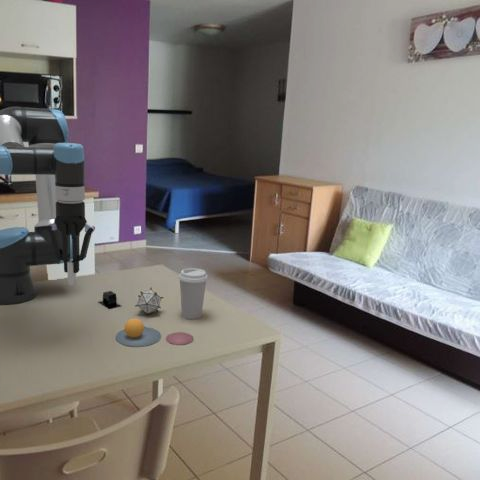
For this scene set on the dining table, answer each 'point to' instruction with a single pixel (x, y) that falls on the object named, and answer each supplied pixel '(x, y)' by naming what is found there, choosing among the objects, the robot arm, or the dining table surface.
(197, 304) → the coffee cup
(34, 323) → the dining table surface
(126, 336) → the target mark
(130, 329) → the ball
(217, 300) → the dining table surface
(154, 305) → the game die
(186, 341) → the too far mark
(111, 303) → the black boxy piece
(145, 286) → the dining table surface
